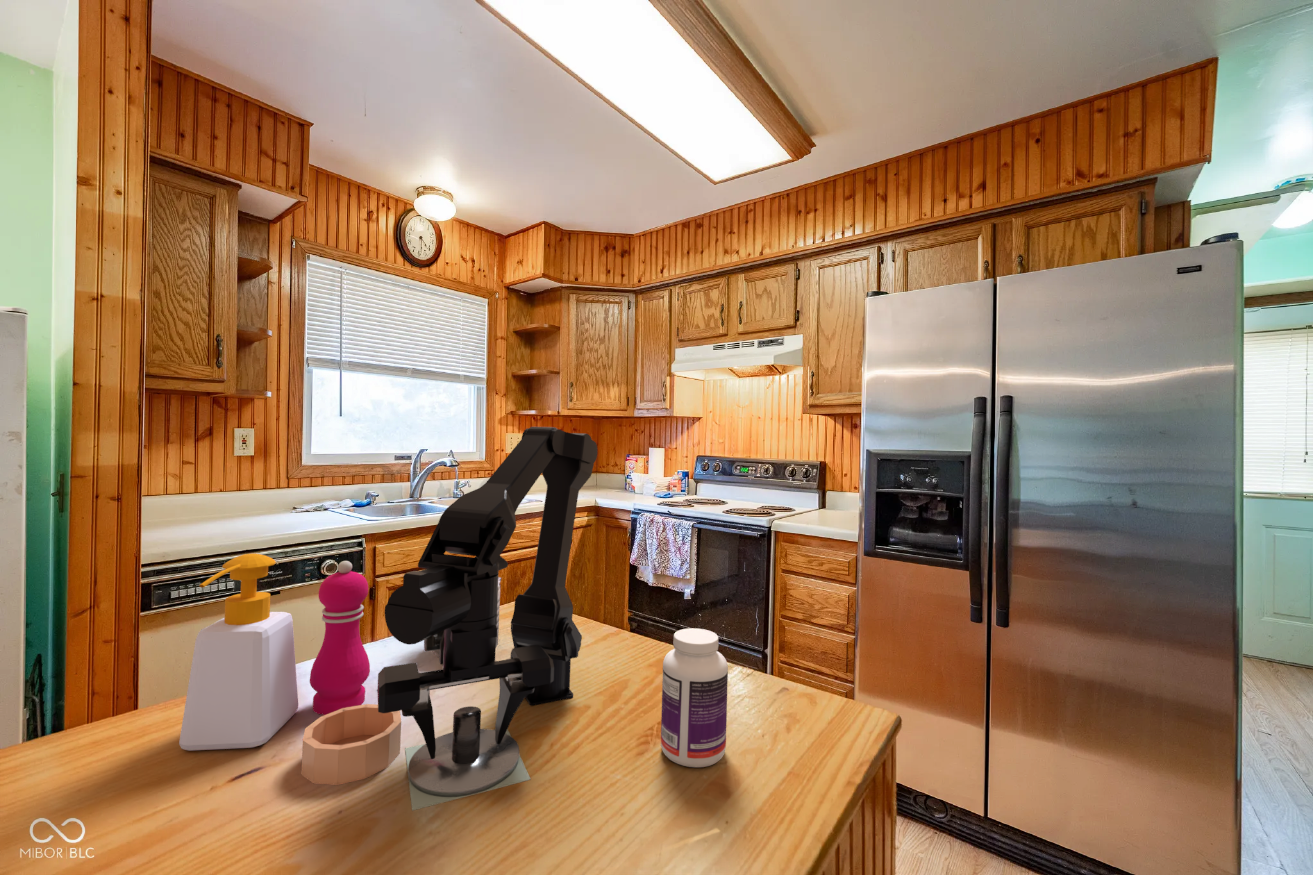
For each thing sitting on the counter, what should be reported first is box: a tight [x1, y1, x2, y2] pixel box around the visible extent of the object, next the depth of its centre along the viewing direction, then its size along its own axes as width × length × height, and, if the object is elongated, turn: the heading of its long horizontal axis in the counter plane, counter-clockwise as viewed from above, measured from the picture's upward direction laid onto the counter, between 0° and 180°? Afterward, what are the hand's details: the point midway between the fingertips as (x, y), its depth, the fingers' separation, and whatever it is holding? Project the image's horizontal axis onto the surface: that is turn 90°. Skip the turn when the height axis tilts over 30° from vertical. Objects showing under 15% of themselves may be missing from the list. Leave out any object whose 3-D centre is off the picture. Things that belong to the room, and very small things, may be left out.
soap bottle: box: [178, 552, 299, 751], centre depth 66 cm, size 10×14×22 cm
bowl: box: [300, 703, 402, 786], centre depth 63 cm, size 10×10×4 cm
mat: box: [404, 729, 531, 812], centre depth 63 cm, size 12×12×1 cm
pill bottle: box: [660, 627, 729, 768], centre depth 67 cm, size 8×8×14 cm
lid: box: [407, 705, 520, 797], centre depth 63 cm, size 12×12×6 cm
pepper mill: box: [309, 560, 371, 716], centre depth 75 cm, size 7×7×20 cm
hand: (466, 749), depth 63 cm, fingers open, 7 cm apart
